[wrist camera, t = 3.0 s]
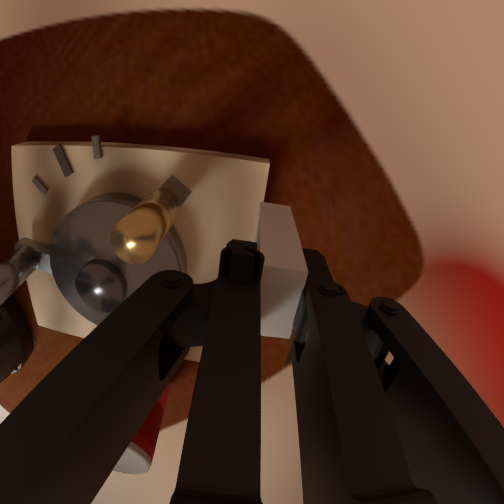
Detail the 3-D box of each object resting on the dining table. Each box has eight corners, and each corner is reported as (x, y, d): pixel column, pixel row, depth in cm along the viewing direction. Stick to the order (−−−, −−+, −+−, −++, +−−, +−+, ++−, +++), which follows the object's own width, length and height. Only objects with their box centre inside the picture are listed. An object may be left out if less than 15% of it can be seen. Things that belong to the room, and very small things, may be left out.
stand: (47, 313, 27) (30, 334, 24) (26, 132, 20) (-2, 139, 16) (236, 351, 29) (234, 380, 25) (270, 147, 21) (273, 155, 17)
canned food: (102, 329, 28) (57, 415, 18) (179, 356, 29) (154, 452, 19) (101, 376, 31) (67, 453, 21) (166, 398, 32) (147, 482, 22)
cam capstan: (161, 356, 26) (142, 420, 20) (23, 244, 22) (-28, 288, 15) (272, 257, 22) (279, 322, 15) (99, 106, 17) (33, 114, 11)
